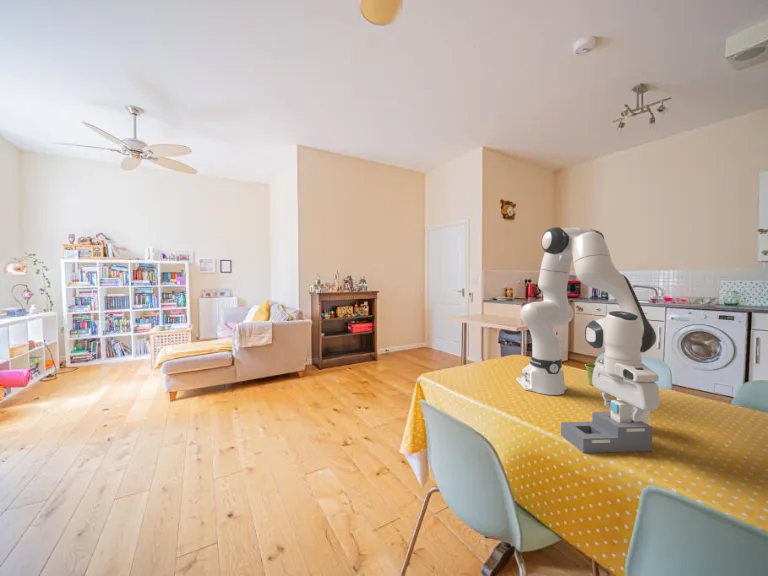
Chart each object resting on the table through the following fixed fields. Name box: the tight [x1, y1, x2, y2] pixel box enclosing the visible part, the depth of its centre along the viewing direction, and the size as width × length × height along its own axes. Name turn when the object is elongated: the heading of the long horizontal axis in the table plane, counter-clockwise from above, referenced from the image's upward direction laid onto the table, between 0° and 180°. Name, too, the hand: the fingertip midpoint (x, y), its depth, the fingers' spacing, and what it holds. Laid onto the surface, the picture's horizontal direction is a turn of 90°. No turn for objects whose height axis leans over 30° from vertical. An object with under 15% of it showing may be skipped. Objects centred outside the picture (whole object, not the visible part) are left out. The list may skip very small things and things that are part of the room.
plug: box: [609, 399, 632, 423], centre depth 91 cm, size 4×4×9 cm
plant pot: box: [584, 363, 595, 387], centre depth 142 cm, size 9×9×9 cm
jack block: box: [560, 411, 653, 454], centre depth 91 cm, size 10×20×7 cm, turn 93°
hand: (621, 413), depth 91 cm, fingers open, 8 cm apart
